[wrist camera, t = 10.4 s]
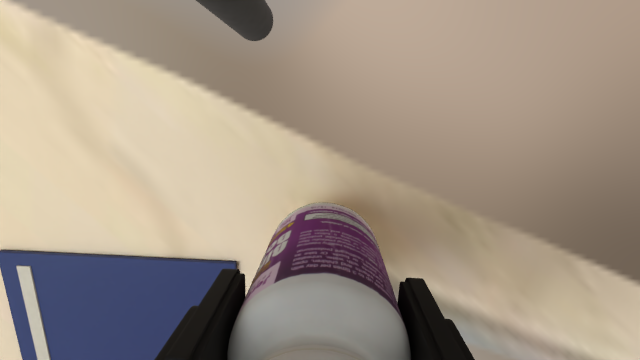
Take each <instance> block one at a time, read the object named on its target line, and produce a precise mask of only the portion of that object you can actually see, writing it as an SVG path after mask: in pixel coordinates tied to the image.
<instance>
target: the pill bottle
mask: <svg viewBox="0 0 640 360" xmlns="http://www.w3.org/2000/svg"><path fill="white" fill-rule="evenodd" d="M227 360H411V350H410V344H409V338H408V334H407V330H406V327H405V324H404V321H403V318H402V316H401V313H400V310H399V307H398V304H397V301H396V298H395V295H394V292H393V289H392V286H391V283H390V280H389V277H388V274H387V271H386V268H385V265H384V262H383V259H382V256H381V253H380V250H379V247H378V244H377V241H376V238H375V236H374V233H373V231H372V230H371V228H370V226H369V225H368V224H367V223H366V221H365V220H364V219H363V218H362V217H361V216H360V215H358V214H357V213H356V212H354V211H353V210H351V209H349V208H347V207H344V206H341V205H337V204H333V203H313V204H309V205H306V206H303V207H301V208H298V209H297V210H295V211H293V212H292V213H290V214H289V215H288V216H287V217H286V218H285V219H284V220H283V221H282V222H281V223H280V224H279V226H278V228H277V229H276V231H275V233H274V235H273V237H272V239H271V241H270V244H269V245H268V248H267V250H266V253H265V255H264V257H263V259H262V261H261V264H260V266H259V268H258V270H257V273H256V275H255V277H254V279H253V281H252V284H251V287H250V289H249V291H248V293H247V295H246V298H245V300H244V302H243V304H242V307H241V309H240V311H239V314H238V316H237V318H236V321H235V323H234V326H233V329H232V332H231V335H230V339H229V345H228V352H227Z"/></svg>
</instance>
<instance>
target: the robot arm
mask: <svg viewBox="0 0 640 360" xmlns="http://www.w3.org/2000/svg"><path fill="white" fill-rule="evenodd" d="M244 300H245V275H244V274H240V271H239V269H222V270H221V272H220V273H219V275H218V276H217V278H216V279H215V281H214V282H213V284H212V286H211V287H210V289H209V290H208V292H207V293H206V295H205V296H204V298H203V299H202V301H201V302H200V304H199V306H195V305H194V306H192V307H191V308H190V309H189V310H188V311H187V313H186V314H185V316H184V317H183V319H182V320H181V322H180V323H179V325H178V326H177V327H176V329H175V330H174V332H173V333H172V335H171V336H170V338H169V339H168V341H167V342H166V343H165V345H164V346H163V348H162V349H161V351H160V352H159V354H158V355H157V357H156V358H155V360H227V352H228V345H229V339H230V335H231V332H232V329H233V326H234V323H235V321H236V318H237V316H238V314H239V311H240V309H241V307H242V304H243V302H244ZM398 307H399V310H400V313H401V316H402V318H403V321H404V324H405V327H406V330H407V334H408V338H409V344H410V350H411V360H475V359H474V358H473V356H472V354H471V352H470V351H469V349H468V347H467V345H466V344H465V342H464V340H463V338H462V337H461V335H460V333H459V331H458V330H457V328H456V326H455V324H454V323H453V321H452V320H450V319H445V318H444V316H443V315H442V313H441V311H440V309H439V307H438V305H437V303H436V302H435V300H434V298H433V296H432V294H431V292H430V290H429V289H428V287H427V285H426V283H425V281H424V280H423V279H420V278H406V280H405V282H400V287H399V295H398Z"/></svg>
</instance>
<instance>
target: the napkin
mask: <svg viewBox="0 0 640 360" xmlns="http://www.w3.org/2000/svg"><path fill="white" fill-rule="evenodd" d="M0 268H1V273H2V277H3V281H4V285H5V289H6V293H7V297H8V301H9V306H10V310H11V314H12V318H13V322H14V326H15V330H16V334H17V339H18V343H19V347H20V351H21V355H22V359H23V360H155V358H156V357H157V355H158V354H159V352H160V351H161V349H162V348H163V346H164V345H165V343H166V342H167V341H168V339H169V338H170V336H171V335H172V333H173V332H174V330H175V329H176V327H177V326H178V325H179V323H180V322H181V320H182V319H183V317H184V316H185V314H186V313H187V311H188V310H189V309H190V308H191V307H192V306H194V305H195V306H199V304H200V302H201V301H202V299H203V298H204V296H205V295H206V293H207V292H208V290H209V289H210V287H211V286H212V284H213V282H214V281H215V279H216V278H217V276H218V275H219V273H220V272H221V270H222V269H237V264H236V261H216V260H196V259H176V258H156V257H135V256H115V255H95V254H75V253H55V252H34V251H14V250H0Z"/></svg>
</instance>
